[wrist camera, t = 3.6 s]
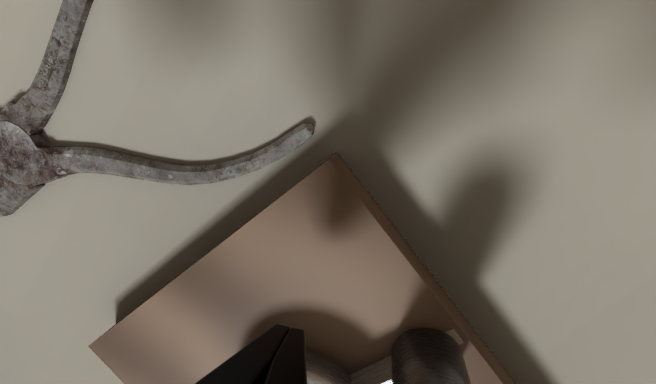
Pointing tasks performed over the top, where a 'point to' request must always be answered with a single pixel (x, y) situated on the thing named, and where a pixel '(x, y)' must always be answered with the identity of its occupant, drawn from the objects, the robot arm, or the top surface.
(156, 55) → the top surface
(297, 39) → the top surface
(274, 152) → the pliers
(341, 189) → the dial plate
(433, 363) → the crank handle
